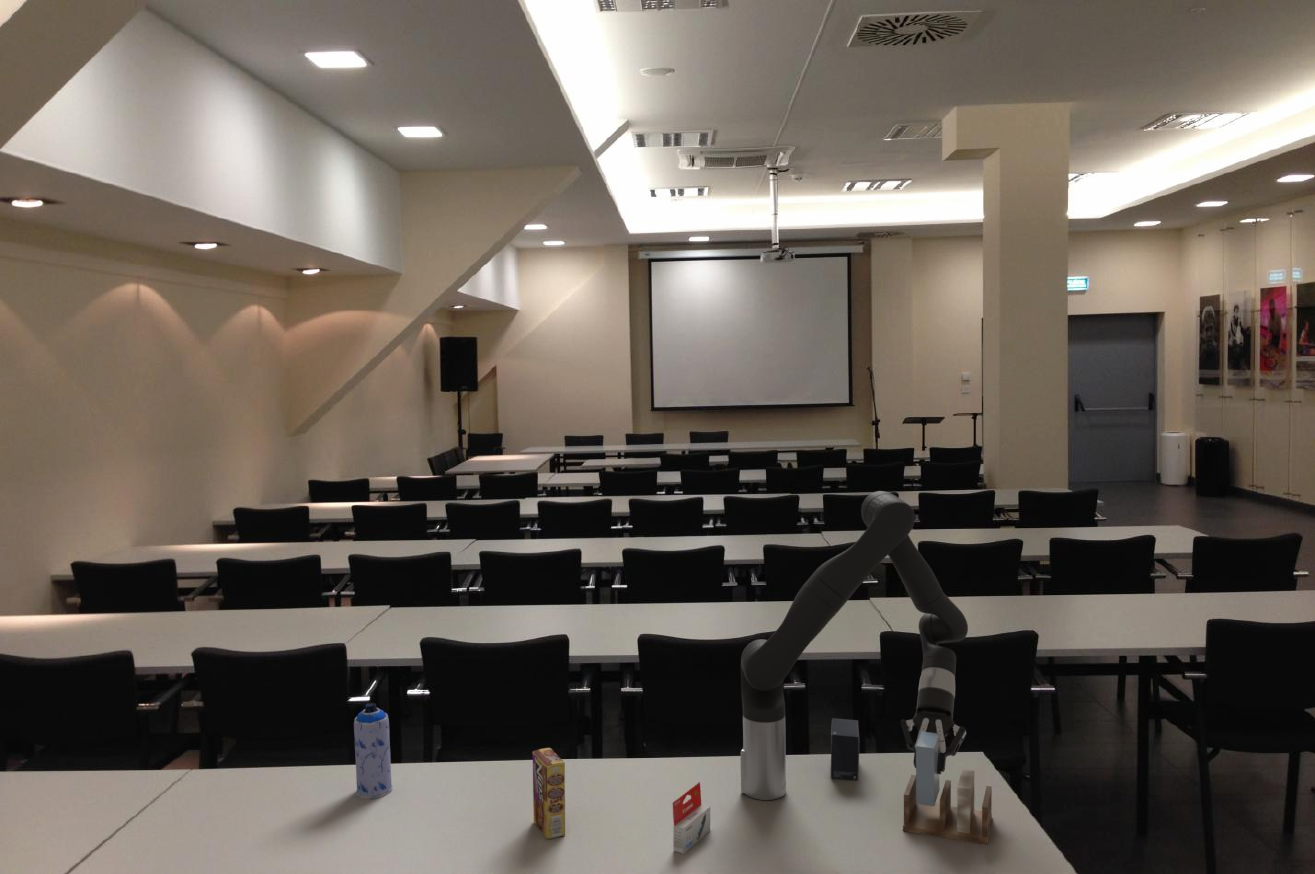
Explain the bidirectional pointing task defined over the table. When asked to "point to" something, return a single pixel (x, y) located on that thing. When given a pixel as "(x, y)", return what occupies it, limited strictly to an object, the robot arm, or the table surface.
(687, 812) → the ink cartridge box
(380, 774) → the aerosol can
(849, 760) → the small box
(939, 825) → the rack
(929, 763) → the pale blue upright slab
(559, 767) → the candy box
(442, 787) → the table surface
